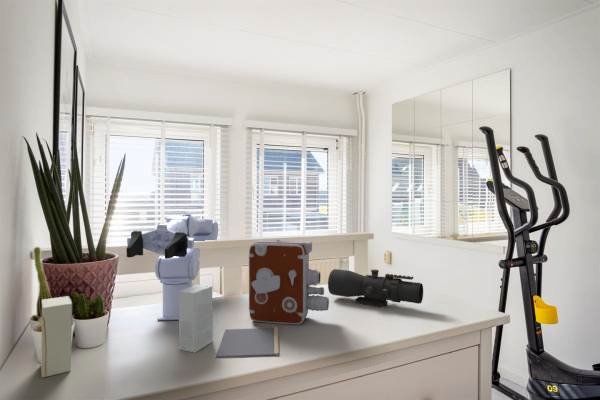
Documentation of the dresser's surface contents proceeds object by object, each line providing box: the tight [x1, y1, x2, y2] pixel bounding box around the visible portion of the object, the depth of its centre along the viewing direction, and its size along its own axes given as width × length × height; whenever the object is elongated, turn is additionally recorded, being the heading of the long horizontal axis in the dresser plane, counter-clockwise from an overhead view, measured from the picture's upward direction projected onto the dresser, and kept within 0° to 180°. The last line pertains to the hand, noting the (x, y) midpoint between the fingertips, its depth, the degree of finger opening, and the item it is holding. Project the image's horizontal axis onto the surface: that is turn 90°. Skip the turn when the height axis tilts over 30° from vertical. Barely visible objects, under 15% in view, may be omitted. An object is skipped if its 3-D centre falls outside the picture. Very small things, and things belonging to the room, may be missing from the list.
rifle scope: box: [327, 268, 424, 309], centre depth 102 cm, size 10×26×10 cm, turn 58°
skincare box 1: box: [40, 295, 73, 378], centre depth 64 cm, size 6×4×12 cm
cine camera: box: [248, 239, 330, 325], centre depth 89 cm, size 9×19×20 cm, turn 78°
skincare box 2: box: [178, 284, 214, 353], centre depth 74 cm, size 6×4×12 cm
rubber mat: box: [215, 326, 280, 359], centre depth 76 cm, size 14×12×1 cm
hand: (147, 253), depth 73 cm, fingers open, 7 cm apart
